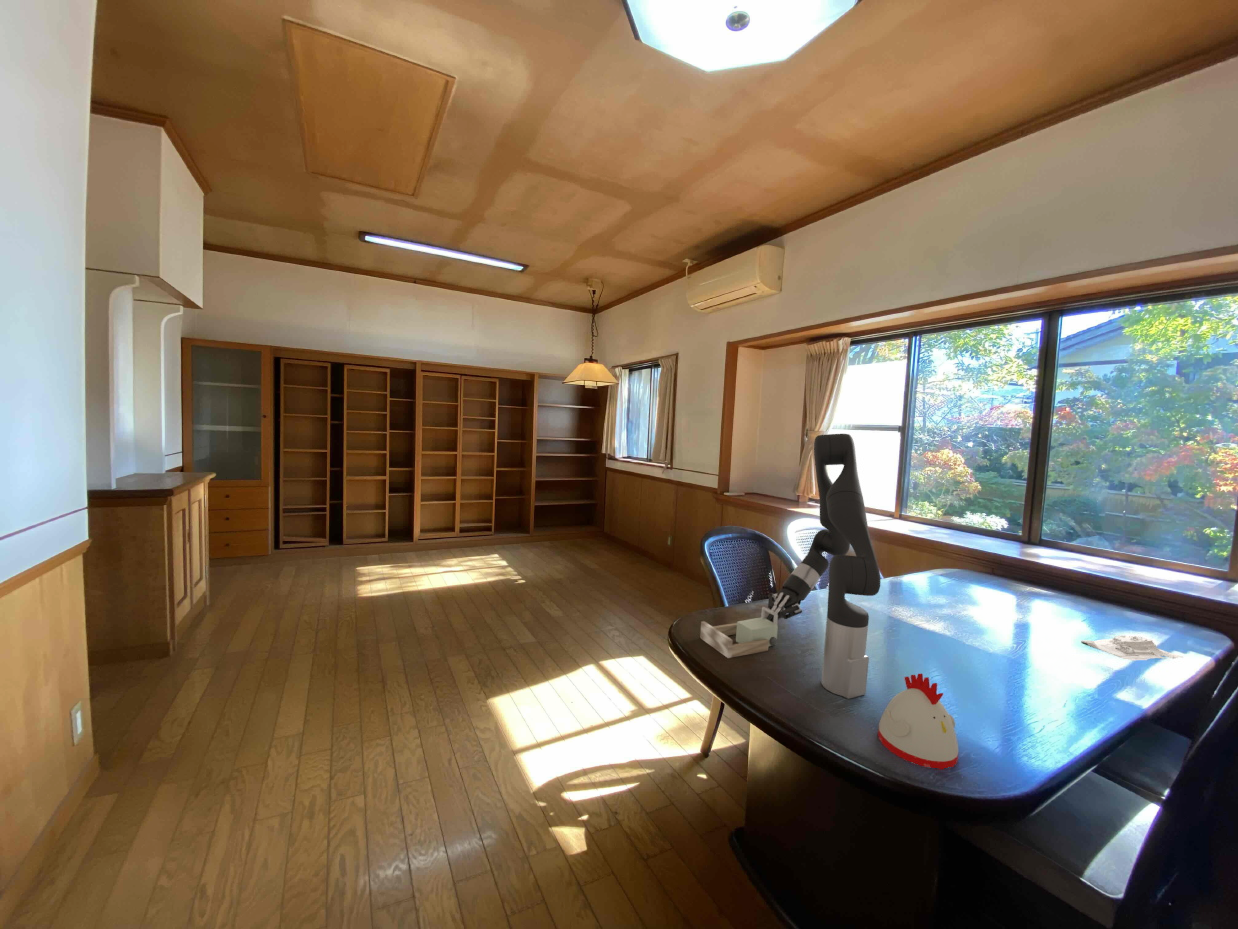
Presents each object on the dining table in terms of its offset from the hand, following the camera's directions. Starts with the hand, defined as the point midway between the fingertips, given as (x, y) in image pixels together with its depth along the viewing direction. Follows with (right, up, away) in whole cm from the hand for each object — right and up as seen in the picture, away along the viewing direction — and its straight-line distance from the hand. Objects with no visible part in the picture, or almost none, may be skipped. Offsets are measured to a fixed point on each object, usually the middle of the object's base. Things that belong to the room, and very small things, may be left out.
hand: (767, 624), depth 148 cm
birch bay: (-11, -4, -5) cm, 13 cm away
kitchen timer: (+16, -9, -48) cm, 52 cm away
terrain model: (+116, -11, +6) cm, 117 cm away
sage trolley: (-5, -4, -4) cm, 7 cm away
